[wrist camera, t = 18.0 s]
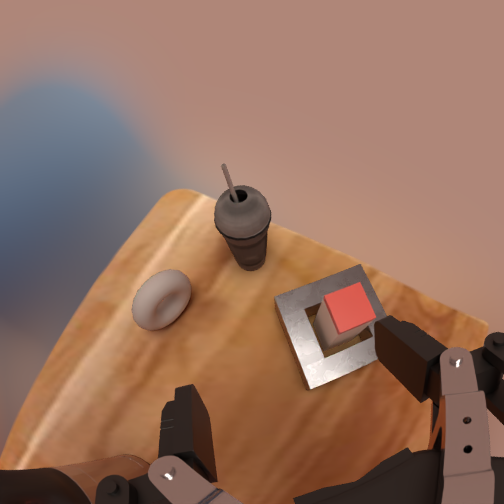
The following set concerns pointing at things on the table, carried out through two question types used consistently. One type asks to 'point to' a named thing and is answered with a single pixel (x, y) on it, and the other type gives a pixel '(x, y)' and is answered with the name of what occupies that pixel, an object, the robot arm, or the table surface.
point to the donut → (154, 291)
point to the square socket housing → (302, 335)
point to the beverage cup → (243, 223)
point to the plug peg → (343, 316)
